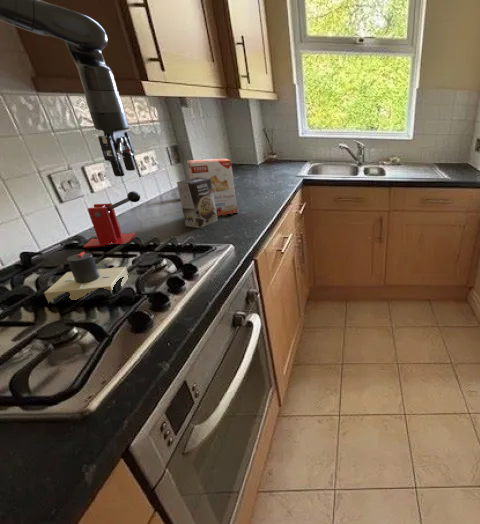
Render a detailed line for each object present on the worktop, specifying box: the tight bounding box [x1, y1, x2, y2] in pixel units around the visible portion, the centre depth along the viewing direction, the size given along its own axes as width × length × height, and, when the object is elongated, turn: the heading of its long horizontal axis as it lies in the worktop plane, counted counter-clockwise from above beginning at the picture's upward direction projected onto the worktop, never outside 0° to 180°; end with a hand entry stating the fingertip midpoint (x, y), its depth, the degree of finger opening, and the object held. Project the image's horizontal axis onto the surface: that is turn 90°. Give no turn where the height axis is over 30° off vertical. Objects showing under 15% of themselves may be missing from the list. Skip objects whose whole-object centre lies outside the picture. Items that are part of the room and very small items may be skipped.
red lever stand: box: [82, 202, 138, 249], centre depth 99 cm, size 11×9×12 cm
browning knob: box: [66, 251, 100, 283], centre depth 74 cm, size 4×4×6 cm
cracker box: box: [186, 158, 239, 217], centre depth 126 cm, size 14×6×21 cm, turn 126°
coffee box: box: [176, 178, 219, 229], centre depth 115 cm, size 9×6×16 cm
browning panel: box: [43, 266, 129, 304], centre depth 76 cm, size 12×10×3 cm
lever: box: [102, 190, 141, 213], centre depth 98 cm, size 13×3×3 cm, turn 108°
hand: (125, 173), depth 93 cm, fingers open, 8 cm apart
